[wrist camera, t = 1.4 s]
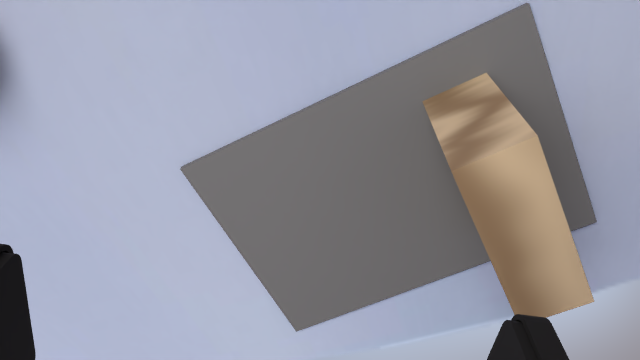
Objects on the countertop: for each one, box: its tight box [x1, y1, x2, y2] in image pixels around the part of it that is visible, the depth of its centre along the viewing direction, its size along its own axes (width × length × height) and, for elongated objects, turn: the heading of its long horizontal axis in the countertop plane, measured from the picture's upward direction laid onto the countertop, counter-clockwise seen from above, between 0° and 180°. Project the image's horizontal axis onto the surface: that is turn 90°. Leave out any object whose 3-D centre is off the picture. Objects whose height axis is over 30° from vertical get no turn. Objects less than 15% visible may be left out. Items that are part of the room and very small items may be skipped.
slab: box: [422, 73, 594, 318], centre depth 34 cm, size 4×12×10 cm, turn 27°
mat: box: [180, 3, 597, 331], centre depth 40 cm, size 26×18×1 cm
